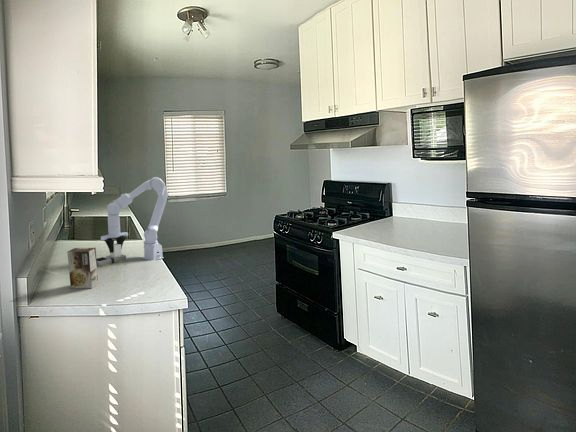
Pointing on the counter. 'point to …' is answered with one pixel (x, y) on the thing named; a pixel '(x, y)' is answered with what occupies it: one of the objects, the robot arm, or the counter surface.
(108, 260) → the panel
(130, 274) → the counter surface
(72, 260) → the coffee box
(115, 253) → the plug
